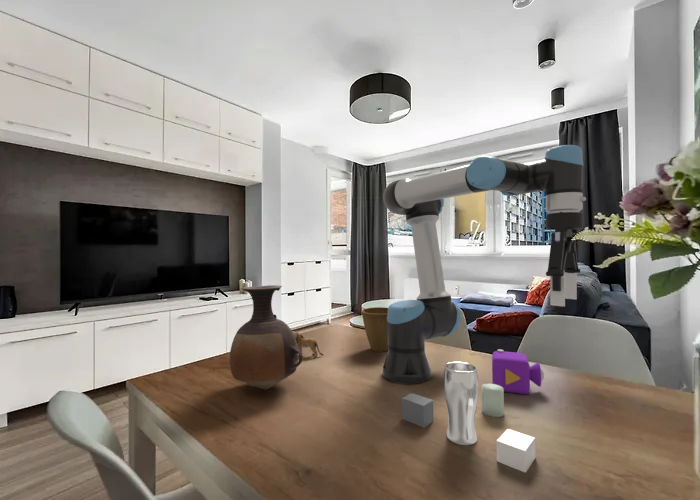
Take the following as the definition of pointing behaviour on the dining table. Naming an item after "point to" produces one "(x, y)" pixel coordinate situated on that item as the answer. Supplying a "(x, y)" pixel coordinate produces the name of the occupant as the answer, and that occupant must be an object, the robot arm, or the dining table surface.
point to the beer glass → (461, 401)
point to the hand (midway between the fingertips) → (564, 302)
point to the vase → (264, 344)
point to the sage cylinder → (492, 400)
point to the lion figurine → (306, 343)
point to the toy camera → (514, 372)
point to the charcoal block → (417, 410)
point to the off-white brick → (516, 450)
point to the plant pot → (376, 327)
